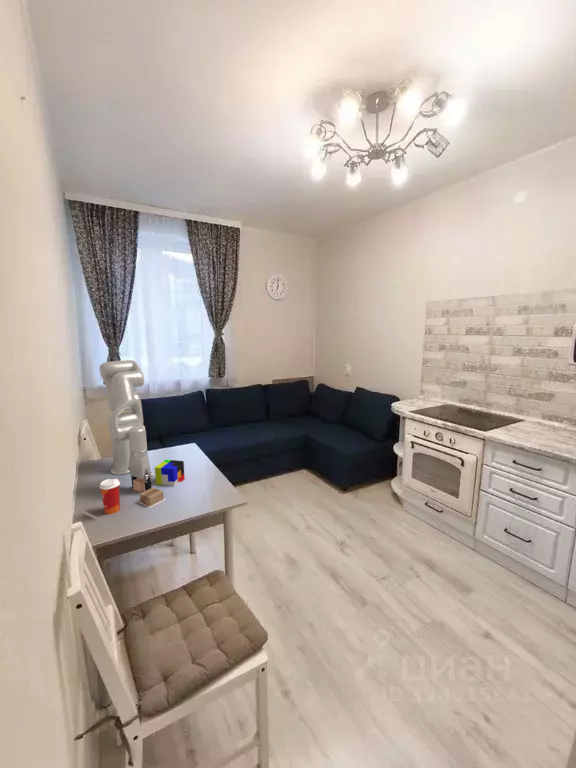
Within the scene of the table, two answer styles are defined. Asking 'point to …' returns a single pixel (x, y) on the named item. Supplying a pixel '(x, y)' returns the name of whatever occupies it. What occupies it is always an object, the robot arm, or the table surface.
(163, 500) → the build mat
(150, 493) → the base block
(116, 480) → the paper cup
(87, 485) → the table surface
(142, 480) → the top block
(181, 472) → the puzzle toy
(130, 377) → the robot arm
